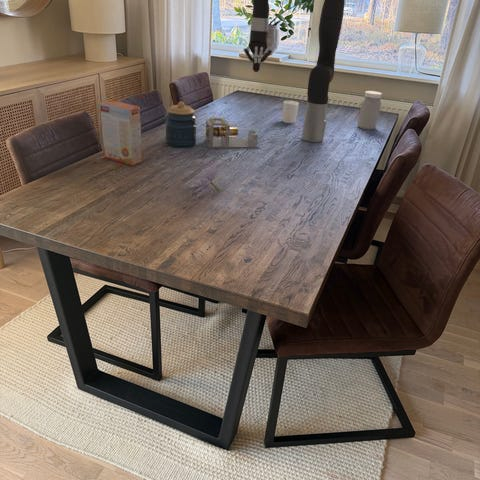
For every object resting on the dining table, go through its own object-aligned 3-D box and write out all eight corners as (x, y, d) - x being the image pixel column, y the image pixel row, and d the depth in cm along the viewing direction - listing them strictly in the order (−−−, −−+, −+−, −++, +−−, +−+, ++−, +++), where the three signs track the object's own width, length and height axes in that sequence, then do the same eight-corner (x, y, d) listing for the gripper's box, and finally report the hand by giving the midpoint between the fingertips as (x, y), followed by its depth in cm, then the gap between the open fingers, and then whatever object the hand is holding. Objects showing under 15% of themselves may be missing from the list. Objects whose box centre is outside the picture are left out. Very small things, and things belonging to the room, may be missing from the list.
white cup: (296, 124, 228) (299, 104, 223) (281, 123, 228) (284, 103, 223) (295, 120, 235) (298, 101, 230) (280, 119, 235) (283, 99, 230)
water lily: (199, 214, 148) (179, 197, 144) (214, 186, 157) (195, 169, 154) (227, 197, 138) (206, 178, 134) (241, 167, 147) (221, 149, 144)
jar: (373, 125, 237) (381, 91, 228) (377, 130, 228) (385, 95, 219) (355, 124, 237) (362, 89, 228) (358, 129, 229) (365, 93, 220)
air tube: (235, 135, 193) (236, 125, 191) (237, 138, 190) (238, 128, 188) (206, 135, 190) (206, 125, 188) (207, 138, 187) (208, 128, 184)
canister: (190, 150, 182) (191, 107, 173) (161, 146, 184) (160, 103, 175) (199, 141, 193) (200, 100, 184) (171, 137, 195) (171, 96, 186)
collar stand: (252, 140, 200) (254, 117, 195) (258, 148, 191) (261, 124, 186) (204, 140, 194) (205, 117, 189) (208, 148, 185) (209, 124, 180)
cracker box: (143, 162, 166) (140, 106, 156) (132, 166, 162) (128, 109, 151) (115, 153, 172) (111, 99, 161) (104, 157, 167) (99, 101, 157)
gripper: (271, 29, 195) (267, 70, 204) (242, 27, 192) (239, 69, 200) (276, 31, 189) (272, 73, 197) (246, 29, 185) (243, 72, 194)
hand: (255, 71), depth 199 cm, fingers closed
